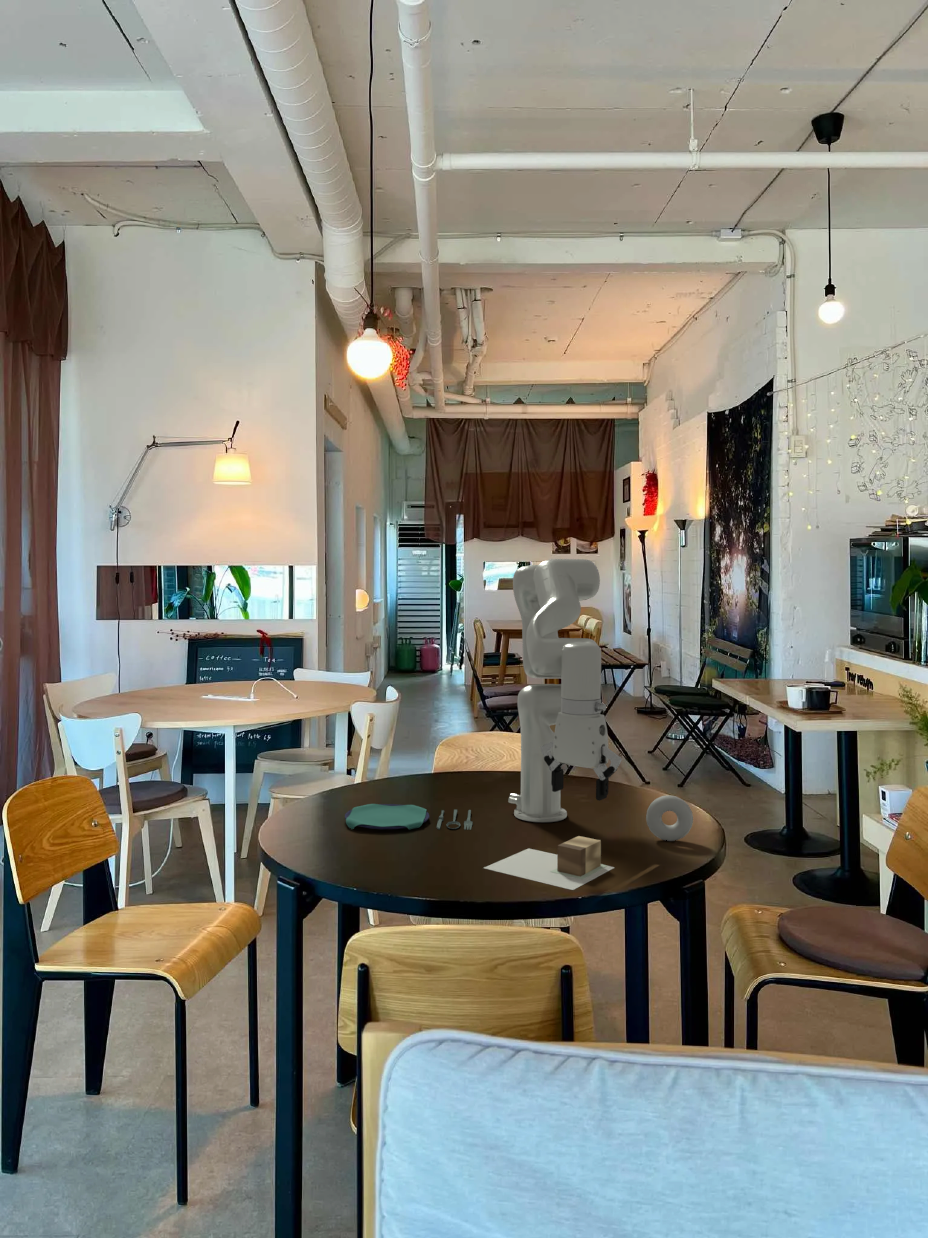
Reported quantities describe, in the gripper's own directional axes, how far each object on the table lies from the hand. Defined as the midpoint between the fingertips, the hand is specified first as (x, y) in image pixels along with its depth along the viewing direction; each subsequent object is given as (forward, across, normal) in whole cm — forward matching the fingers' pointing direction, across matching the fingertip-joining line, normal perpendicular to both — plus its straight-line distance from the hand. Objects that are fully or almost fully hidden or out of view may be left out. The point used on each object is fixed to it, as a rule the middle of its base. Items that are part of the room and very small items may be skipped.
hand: (579, 794), depth 171 cm
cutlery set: (+17, +49, -6) cm, 52 cm away
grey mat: (+15, +4, +4) cm, 16 cm away
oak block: (+14, -1, +1) cm, 14 cm away
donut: (+16, -6, -29) cm, 34 cm away
